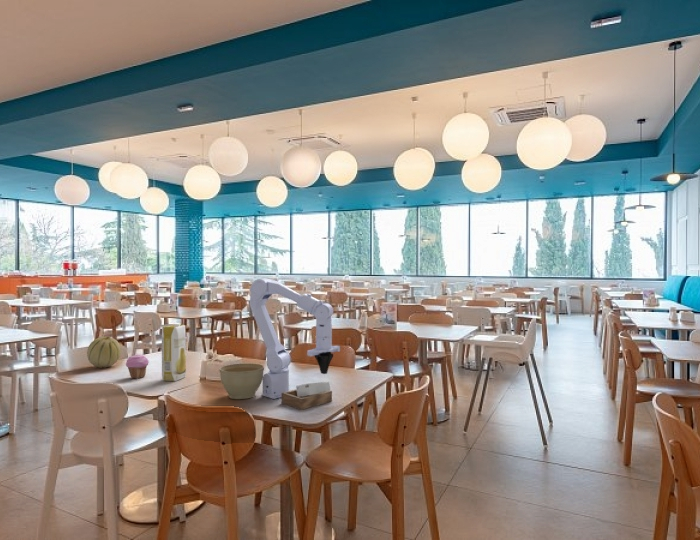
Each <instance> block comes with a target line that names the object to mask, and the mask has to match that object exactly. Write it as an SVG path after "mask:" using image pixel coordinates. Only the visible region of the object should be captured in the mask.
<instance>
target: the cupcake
mask: <svg viewBox="0 0 700 540" xmlns="http://www.w3.org/2000/svg"><path fill="white" fill-rule="evenodd" d="M149 363H150V361H149V359H148V358H147V357H146V356H145V355H143V354H134V355H130V356H129V357H128V358H127V359H126V363H125V367H127V369H128V372H129V373H128V374H129V376H130V377H132V378H131V379H140V377H141V378H144V377H145V376H146V372H147V366H148V365H149Z"/></svg>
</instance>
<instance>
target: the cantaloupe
mask: <svg viewBox="0 0 700 540" xmlns="http://www.w3.org/2000/svg"><path fill="white" fill-rule="evenodd" d="M121 352H122V348H121V345H120V343H119V342H118V340H117V339H115V338H114V337H111V336H110V335H108V336H100V337H97V338H95V339H94V340H93V341H91V342H90V343H89V345H88V347H87V350H86V356H87V360H88V362H89V363H90V364H91V365H93V367H96V368H102V367H104V368H108V367H112V366H114V365H115V364H117V362H118V361H119V360H120V357H121Z"/></svg>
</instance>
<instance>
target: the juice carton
mask: <svg viewBox="0 0 700 540" xmlns="http://www.w3.org/2000/svg"><path fill="white" fill-rule="evenodd" d="M186 339H187V338H186V325H185V324H181V323H180V322H174V323H173V324H171V325H167V326H162V327H161V377H162V378H161V380H162V381H163V382H164V381H166V382H168V381H169V382H178V381H180V380H182V379H184V378H186V372H187V363H186V362H187V361H186V360H187V359H186V358H187V357H186V354H187V351H186V349H187V348H186V346H187V345H186V344H187V343H186V342H187V341H186Z"/></svg>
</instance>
